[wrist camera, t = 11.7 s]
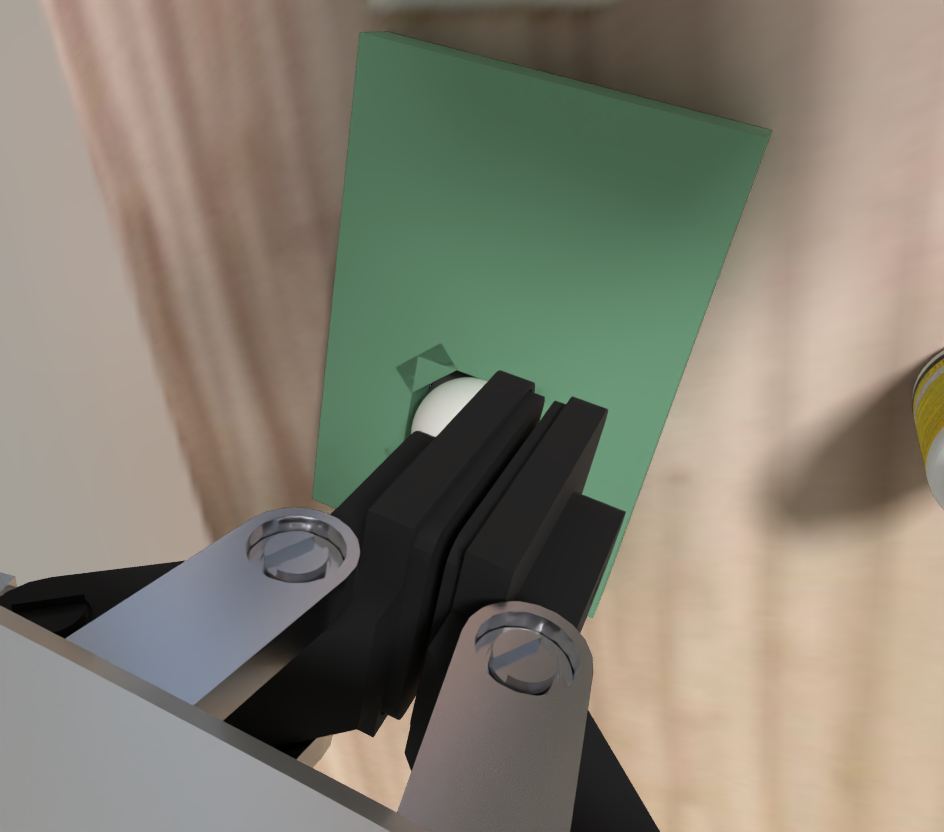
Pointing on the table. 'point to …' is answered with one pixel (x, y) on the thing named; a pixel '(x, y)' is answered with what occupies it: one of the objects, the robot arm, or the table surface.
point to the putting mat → (520, 252)
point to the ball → (445, 404)
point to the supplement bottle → (931, 422)
